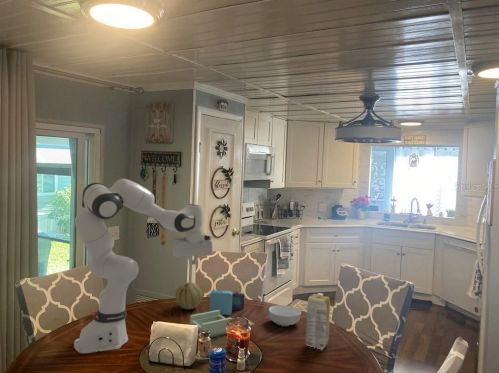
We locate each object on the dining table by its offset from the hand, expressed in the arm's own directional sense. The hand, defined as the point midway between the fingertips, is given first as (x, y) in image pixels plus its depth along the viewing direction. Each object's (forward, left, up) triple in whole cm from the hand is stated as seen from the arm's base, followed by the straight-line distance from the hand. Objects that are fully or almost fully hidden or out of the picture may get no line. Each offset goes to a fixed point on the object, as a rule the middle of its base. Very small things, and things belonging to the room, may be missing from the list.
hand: (192, 264), depth 197 cm
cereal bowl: (+44, -20, -31) cm, 58 cm away
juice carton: (+40, -48, -31) cm, 70 cm away
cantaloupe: (+10, +23, -31) cm, 40 cm away
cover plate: (+21, -10, -32) cm, 40 cm away
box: (+6, -10, -31) cm, 33 cm away
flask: (+33, +10, -31) cm, 47 cm away
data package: (+22, +8, -31) cm, 39 cm away
